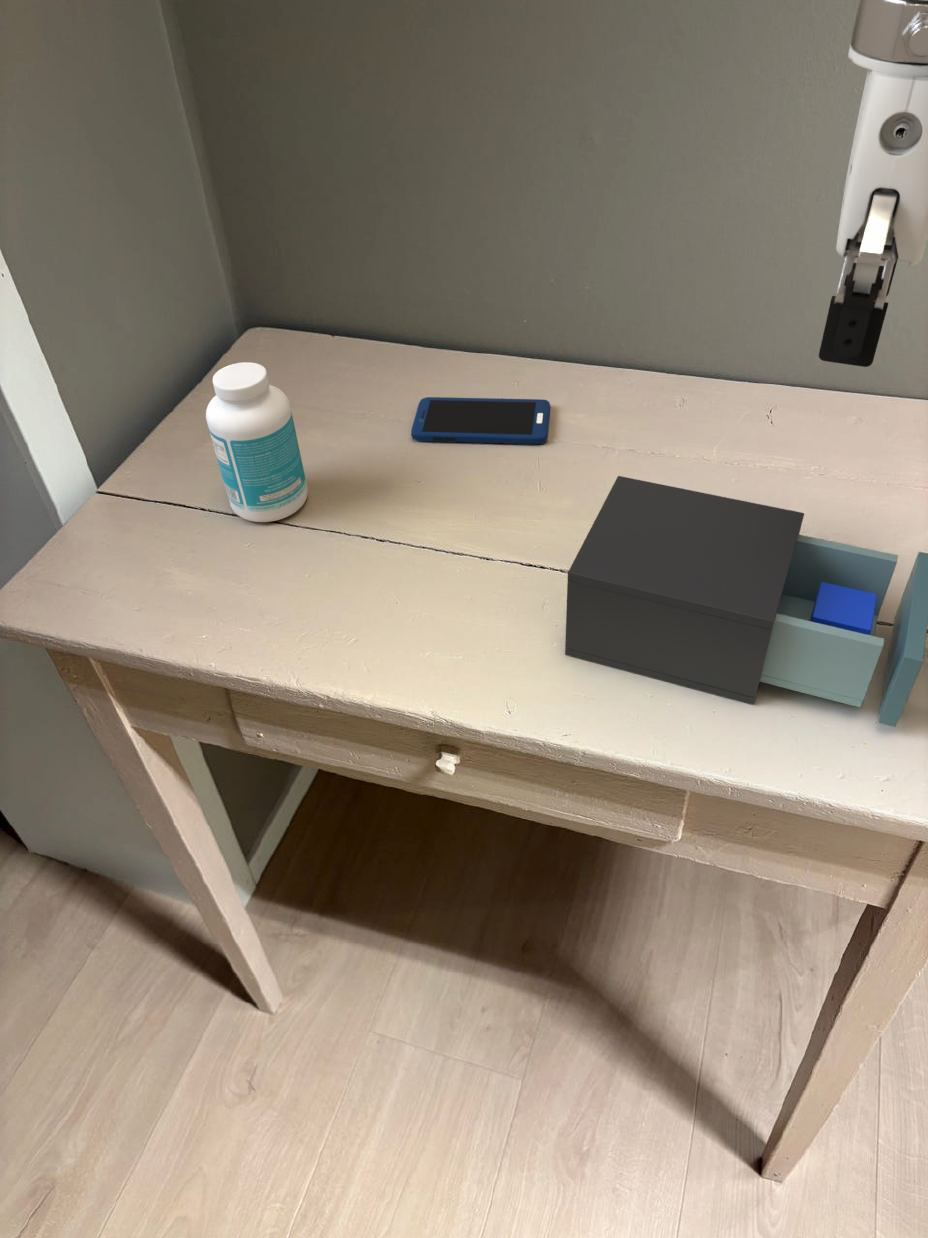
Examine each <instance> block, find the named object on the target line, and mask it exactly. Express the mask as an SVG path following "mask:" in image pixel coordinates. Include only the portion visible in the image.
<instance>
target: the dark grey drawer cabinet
mask: <svg viewBox="0 0 928 1238" xmlns="http://www.w3.org/2000/svg"><path fill="white" fill-rule="evenodd" d="M804 517H805V513H804V512H801V511H795V510H791V509H786V508H781V507H776V506H770V505H766V504H761V503H755V502H750V501H746V500H742V499H736V498H732V497H731V498H730V497H726V496H721V495H718V494H717V495H716V494H712V493H706V492H701V491H698V490H697V491H696V490H691V489H687V488H681V487H677V486H670V485H666V484H663V483H662V484H661V483H656V482H651V481H647V480H642V479H636V478H631V477H627V476H626V477H625V476H621V475H617V476H616V479H615V481H614V483H613V485H612V486H611V488H610V490H609V492H608V495H607V496H606V498H605V500H604V502H603V504H602V506H601V508H600V510H599V512H598V513H597V515H596V517H595V519H594V521H593V523H592V526H591V527H590V529H589V531H588V533H587V535H586V537H585V539H584V540H583V543H582V544H581V546H580V548H579V550H578V552H577V554H576V556H575V558H574V560H573V562H572V564H571V566H570V567H569V569H568V571H567V583H566V584H567V585H566V590H567V591H566V611H565V613H566V614H565V619H566V620H565V641H564V655H565V656H569V657H573V658H576V659H580V660H583V661H587V662H591V663H595V664H598V665H602V666H606V667H610V668H614V669H618V670H621V671H624V672H629V673H632V674H637V675H640V676H644V677H647V678H650V679H655V680H657V681H658V680H659V681H663V682H667V683H670V684H674V685H677V686H680V687H681V686H682V687H685V688H689V689H693V690H697V691H700V692H704V693H709V694H711V695H715V696H719V697H723V698H727V699H730V700H734V701H737V702H742V703H744V704H745V703H746V704H748V705H754V704H755V701H756V698H757V694H758V690H759V687H760V683H761V682H760V678H761V674H762V669H763V665H764V661H765V657H766V653H767V649H768V645H769V641H770V637H771V633H772V629H773V625H774V621H775V617H776V614H777V610H778V607H779V603H780V600H781V596H782V592H783V589H784V585H785V582H786V578H787V575H788V571H789V567H790V564H791V560H792V557H793V553H794V550H795V546H796V542H797V539H798V535H800V533H801V529H802V524H803V521H804Z"/></svg>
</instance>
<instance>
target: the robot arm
mask: <svg viewBox="0 0 928 1238" xmlns="http://www.w3.org/2000/svg"><path fill="white" fill-rule="evenodd" d="M847 57H848V59H849V60H850V61H851V63H853V64H854V65H856V66H858V67H861V68H863V69H866V70H867V72H866V77H865V82H864V87H863V92H862V95H861V100H860V106H859V111H858V115H857V119H856V125H855V129H854V135H853V140H852V145H851V150H850V156H849V161H848V167H847V172H846V177H845V184H844V189H843V196H842V202H841V207H840V208H841V209H840V215H839V222H838V223H839V224H838V225H839V226H838V231H837V238H836V245H835V251H836V252H837V254H838V255H839V257H841V258H842V259H844V261H843V265H842V268H841V274H840V277H839V281H838V285H837V290H836V292H835V295H832V296H831V299H830V302H829V307H828V312H827V316H826V321H825V324H824V329H823V334H822V339H821V343H820V348H819V352H818V359H820V360H821V361H823V362H828V363H835V364H840V365H841V364H842V365H849V366H850V365H851V366H854V367H863V368H868V367H870V366H872V365H873V362H874V359H875V355H876V352H877V348H878V344H879V340H880V337H881V335H882V334H881V333H882V330H883V326H884V322H885V319H886V315H887V312H888V307H889V302H886V299H887V297H888V295H889V293H890V290H891V285H892V282H893V279H894V275H895V272H896V269H897V263H898V261H899V262H907V263H908V266H909V267H913V266H915V265H918V264H919V263H920V262H921V261H922V260H923V258H924V253H925V250H926V247H927V242H928V0H858V4H857V9H856V14H855V18H854V24H853V27H852V33H851V38H850V44H849V49H848V54H847Z"/></svg>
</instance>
